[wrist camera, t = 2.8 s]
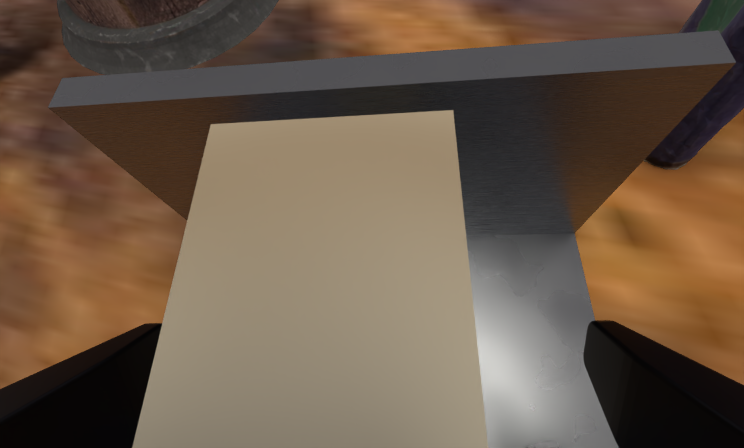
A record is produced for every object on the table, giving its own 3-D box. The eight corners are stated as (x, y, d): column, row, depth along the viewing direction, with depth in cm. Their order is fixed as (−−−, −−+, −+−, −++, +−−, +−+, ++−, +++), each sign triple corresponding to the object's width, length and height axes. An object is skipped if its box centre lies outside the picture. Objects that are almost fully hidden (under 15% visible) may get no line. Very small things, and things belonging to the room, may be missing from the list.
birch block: (430, 430, 14) (497, 533, 3) (347, 428, 14) (115, 517, 3) (424, 317, 15) (453, 109, 4) (351, 318, 16) (210, 124, 5)
